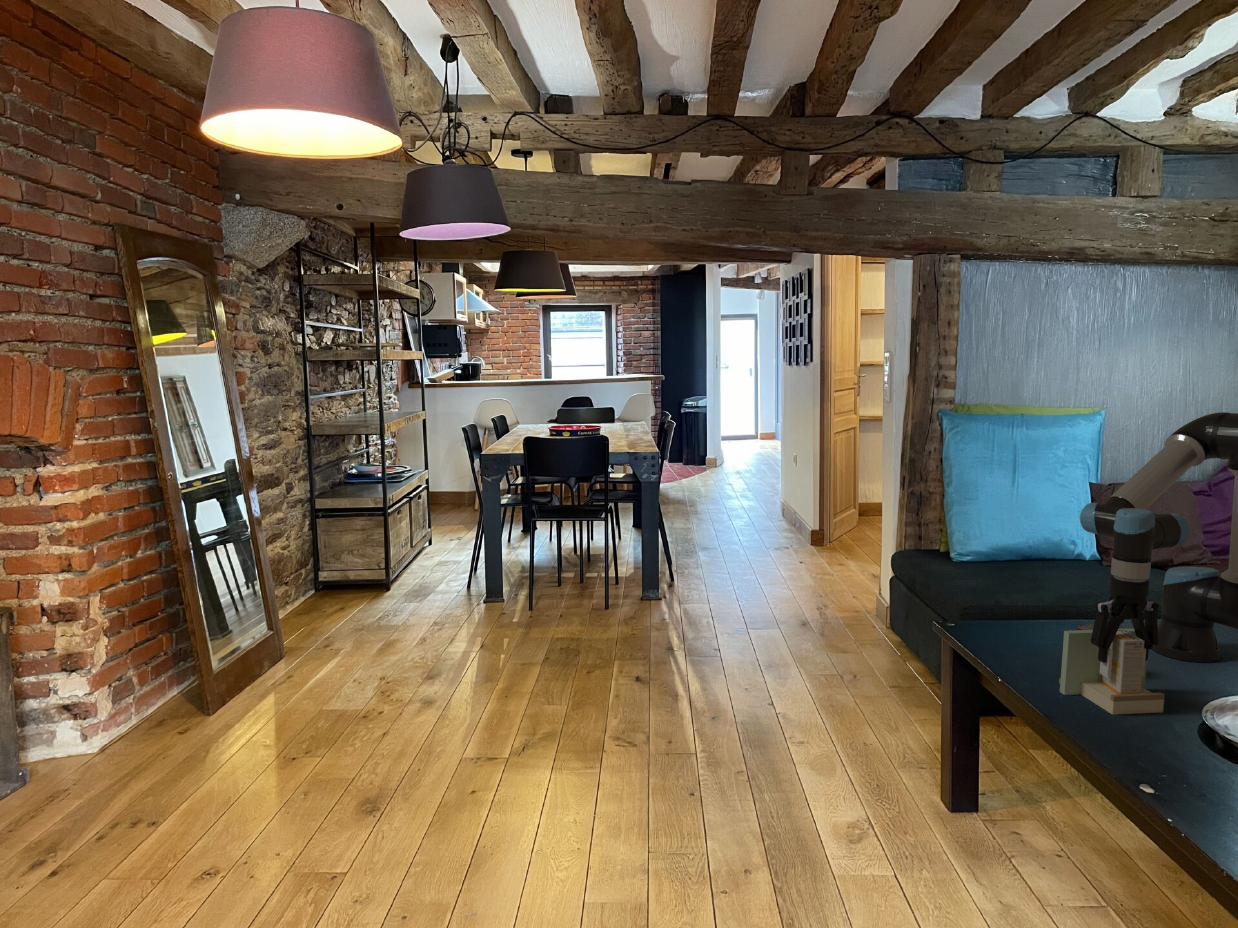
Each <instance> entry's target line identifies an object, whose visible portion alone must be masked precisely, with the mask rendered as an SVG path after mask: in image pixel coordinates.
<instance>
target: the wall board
mask: <svg viewBox="0 0 1238 928" xmlns="http://www.w3.org/2000/svg"><path fill="white" fill-rule="evenodd" d="M1124 629H1125V630H1127V631H1128V632H1130V633H1132V634H1133V635H1135V636H1136V634H1135V630H1134V627H1132V628H1124ZM1092 632H1093V630H1077V629H1076V630H1064V631H1063V641H1062V642H1063V645H1062V655H1061V671H1060V678H1058V684H1059V685H1060V686H1059V693H1061V694H1062V695H1064V696H1072V695H1073V696H1074V695H1081V696H1082V697H1084V698H1086V699H1087V700H1089V701H1091V702H1092V703H1094V704H1095V705H1097V706H1099V708H1102V709H1103V710H1104V711H1106V712H1107V713H1109V714H1111V715H1112V716H1113V715H1129V714H1130V715H1133V714H1134V715H1135V714H1152V713H1153V714H1154V713H1155V714H1156V713H1164V706H1165V705H1164V704H1165V697H1166V696H1165V693H1163V692H1151V691H1150V690H1148V689H1146V688H1145V687H1146V679H1147V678H1146V675H1147V666H1148V665H1147V664H1148V660H1147V661H1145V668H1144V676H1142V681H1141V693H1139V694H1117V693H1116V692H1114V691H1113V690H1112V689H1110V688H1109V687H1108V686H1106V685H1105V684H1103V683H1102V674H1100V661H1099V660H1098V652H1099V647H1097V646H1096V645H1094V644H1092V643H1091V636H1092Z"/></svg>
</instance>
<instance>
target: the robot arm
mask: <svg viewBox="0 0 1238 928" xmlns="http://www.w3.org/2000/svg"><path fill="white" fill-rule="evenodd" d="M1209 459H1220V460H1227V461H1228V462H1227V470H1228V471H1229V472H1230V473H1231V474H1233V476H1234V484H1233V497H1232V498H1233V499H1232V509H1231V510H1232V514H1231V524H1230V525H1231V526H1230V528H1231V529H1230V540H1229V541H1230V542H1229V553H1228V567H1227V569H1226V570H1224V571H1223V572H1221V573H1220V572H1219V570H1218V569H1216V568H1213V567H1206V566H1177V567H1176V566H1175V567H1172V568H1168V569H1167V570H1166V572H1165V574H1164V580H1163V584H1162V585H1163V589H1162V590H1163V591H1162V602H1161V613H1160V621H1159V623H1158V611H1159V608H1160V603H1157V602H1155V601H1153V600H1148V599H1147V597H1148V596H1149V590H1150V582H1149V579H1150V577H1151V565H1152V554H1153V550H1159V549H1164V548H1166V549H1167V548H1169V549H1170V548H1174V547H1176V546H1179V545H1182V544H1184V543H1185V542H1187V541H1188V539H1189V537H1190V536H1191V535H1190V534H1191V527H1190V524H1189V522H1188V521H1187V519H1186V518H1185V517H1184V516H1182V515H1181V514H1178V513H1169V512H1165V513H1161V514H1160V513H1156V512H1155V513H1154V512H1153V511H1151V510H1149V509H1148V508H1149V507H1150V506H1151V505H1152V504H1153V503H1154V502H1155V501H1156V500H1158V499H1159V498H1160V497H1161V496H1162V495H1163V494H1164V493H1165V492H1166V491H1167V490H1168V489H1169V488H1170V487H1171V486H1172V485H1173V484H1175V483H1176V481H1178V480H1179V479H1180V478H1181V477H1182V476H1183V475H1184V474H1185V473H1186V472H1187V471H1189V469H1190V468H1192V467H1197V466H1200V465H1201V464H1203V462H1205V461H1206V460H1209ZM1079 523H1080V525H1081V527H1082V529H1083V530H1084V531H1085V532H1088V533H1090V534H1095V535H1097V536H1099V537H1100V536H1103V537H1107V538H1113V539H1112V541H1113V542H1112V554H1111V564H1110V565H1111V567H1110V574H1111V575H1112V576H1110V577H1109V588H1108V590H1109V593H1110V596H1109V599H1108V600H1107V601H1106V602H1105V601H1104V602H1100V601H1097V602H1096V604H1095V610H1096V613H1095V618H1094V622H1093V624H1094V627H1093V632H1092V636H1091V643H1092V644H1094V645H1096V646H1097V647H1099V652H1098V660H1099V661H1100V674H1102V675H1103V676H1105V677H1107V678H1111V666H1112V654H1113V650H1111V649H1110V646H1111V644H1112V642H1113V639H1114V637H1115V635H1116V633H1117V631H1118V629H1120V626H1121V624H1123V623H1124V622H1125V620H1126V619H1130V620H1131V624H1132V628H1134V630H1135V634H1136V636H1137V637H1138V638H1140V639H1142V640H1143V641H1144V653H1143V667H1142V676H1144V668H1145V661H1147V662H1148V659H1149V651H1150V650H1153V651H1155V652H1156V653H1157V654H1160V655H1162V656H1165V657H1168V658H1172V659H1176V660H1180V661H1185V662H1194V663H1211V662H1216V661H1219V658H1220V647H1219V644H1218V640H1217V637H1216V633H1215V632H1216V631H1215V629H1214V627H1215V626H1214V625H1215V623H1216V624H1218V625H1222V626H1226V627H1229V628H1233V629H1236V630H1238V413H1236V412H1235V413H1234V412H1226V411H1225V412H1223V411H1222V412H1212V413H1209V414H1206V415H1203V416H1201V417H1197V418H1195V419H1194V420H1190V421H1189V422H1188V423H1186V424H1183V425H1182V426H1181V427H1180V428H1178V429H1176V430H1175V431H1174V432H1173V433H1172V434H1170V435H1169V436H1168V437H1167V438H1166V439H1165V442H1164V447H1163V448H1161V449H1160V450H1159V451H1158V452H1157V453H1155V455H1154V456H1153V457H1151V459H1150V460H1148V462H1147V463H1145V464H1144V465H1143V466H1142V467H1141V468H1139V470H1138V471H1137V472H1135V474H1133V475H1132V476H1131V477H1130V478H1129V479H1128V480H1127V481H1126V482H1125V483H1124V484H1122V485H1121V487H1119V488H1118V489H1117V490H1116V491H1115V492H1114V493H1112V495H1110V497H1108V498H1107V499H1106V500H1105V501H1104V502H1103V503H1100V502H1090V503H1087V504H1086V505H1085V506H1083V508H1082V509H1081V512H1080V516H1079ZM1110 609H1111V610H1110ZM1143 610H1144V611H1143ZM1143 612H1144V613H1143Z"/></svg>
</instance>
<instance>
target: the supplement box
mask: <svg viewBox="0 0 1238 928" xmlns="http://www.w3.org/2000/svg"><path fill="white" fill-rule="evenodd" d="M1125 629H1126V628H1119V629H1118V631H1117V633H1116V635H1115V637H1114V639H1113V642H1112V644H1111V646H1110V649H1111V650H1113V654H1112V666H1111V678H1107V677H1105V676H1103V675H1102V683H1103V684H1105V685H1106V686H1108V687H1109V688H1110V689H1112V690H1113V691H1114V692H1116V693H1117V694H1139V693H1141V681H1142V667H1143V653H1144V641H1143V640H1142V639H1140V638H1138V637H1137V636H1135V635H1133V634H1132V633H1130V632H1128V631H1127V630H1125Z"/></svg>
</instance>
